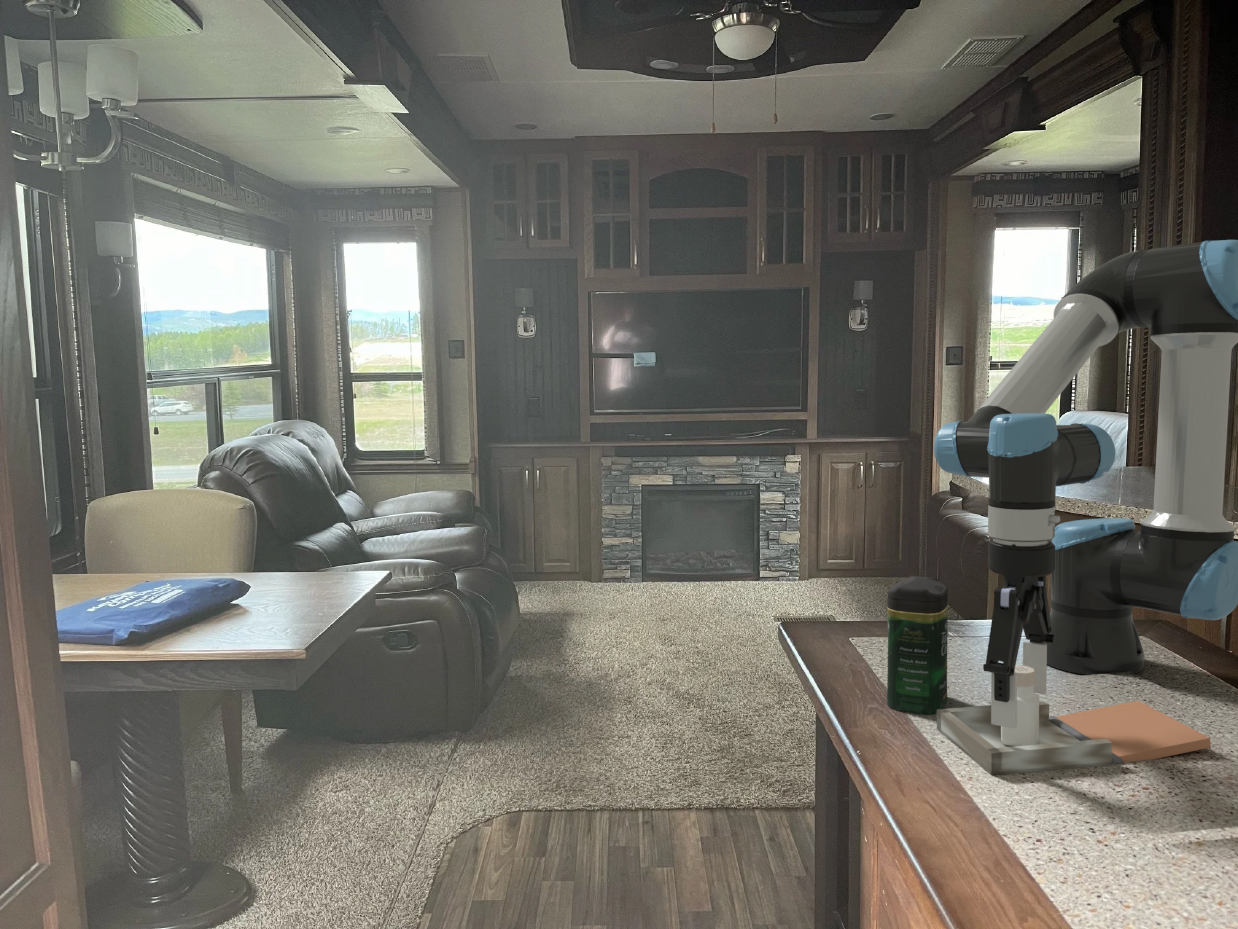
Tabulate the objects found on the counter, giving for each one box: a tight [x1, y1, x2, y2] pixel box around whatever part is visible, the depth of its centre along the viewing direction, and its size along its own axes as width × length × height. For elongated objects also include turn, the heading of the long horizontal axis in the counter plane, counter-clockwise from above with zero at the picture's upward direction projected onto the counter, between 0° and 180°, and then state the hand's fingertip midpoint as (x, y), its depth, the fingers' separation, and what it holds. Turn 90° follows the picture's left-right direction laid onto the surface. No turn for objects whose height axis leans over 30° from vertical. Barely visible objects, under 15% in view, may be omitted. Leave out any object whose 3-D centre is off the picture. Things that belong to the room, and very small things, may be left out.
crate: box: [936, 700, 1113, 776], centre depth 113 cm, size 15×14×4 cm
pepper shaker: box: [1001, 664, 1040, 746], centre depth 113 cm, size 4×4×10 cm
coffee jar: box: [886, 575, 949, 716], centre depth 129 cm, size 10×8×19 cm
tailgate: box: [1049, 700, 1212, 764], centre depth 115 cm, size 1×13×13 cm
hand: (1019, 708), depth 113 cm, fingers open, 13 cm apart
